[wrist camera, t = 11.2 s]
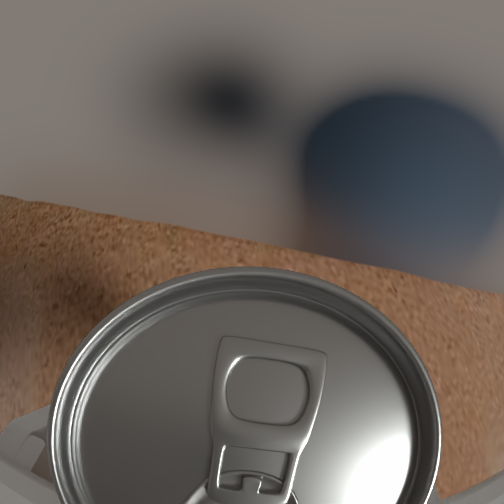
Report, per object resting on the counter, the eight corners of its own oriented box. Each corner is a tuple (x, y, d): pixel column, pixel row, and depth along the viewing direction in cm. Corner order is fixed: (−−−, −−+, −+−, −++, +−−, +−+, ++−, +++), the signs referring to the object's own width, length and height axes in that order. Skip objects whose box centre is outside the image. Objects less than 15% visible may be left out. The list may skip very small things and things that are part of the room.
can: (155, 456, 12) (22, 555, 1) (179, 343, 15) (92, 204, 4) (279, 478, 12) (407, 600, 1) (298, 366, 15) (461, 279, 4)
